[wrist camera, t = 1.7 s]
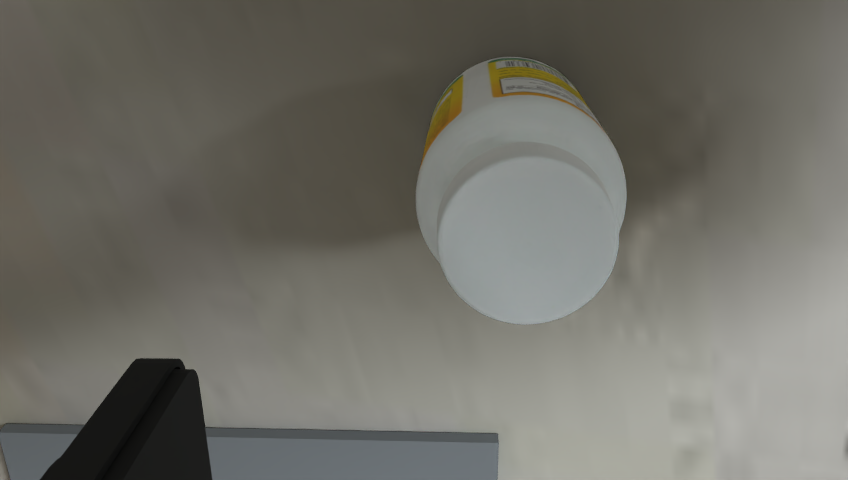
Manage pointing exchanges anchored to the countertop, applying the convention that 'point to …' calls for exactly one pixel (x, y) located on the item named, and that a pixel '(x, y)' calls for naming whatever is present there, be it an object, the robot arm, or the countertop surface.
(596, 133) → the supplement bottle
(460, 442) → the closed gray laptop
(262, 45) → the countertop surface
